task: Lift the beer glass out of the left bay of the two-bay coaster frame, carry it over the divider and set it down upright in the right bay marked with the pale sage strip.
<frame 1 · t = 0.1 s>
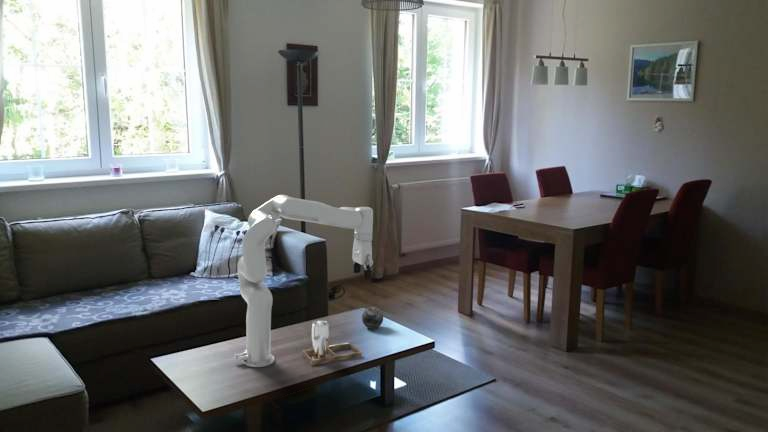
hand: (362, 275, 264), 31 cm above the table, fingers open, 9 cm apart
decorative stone: (372, 328, 290), on the table
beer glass: (319, 358, 254), resting in coaster frame
coaster frame: (331, 356, 257), on the table
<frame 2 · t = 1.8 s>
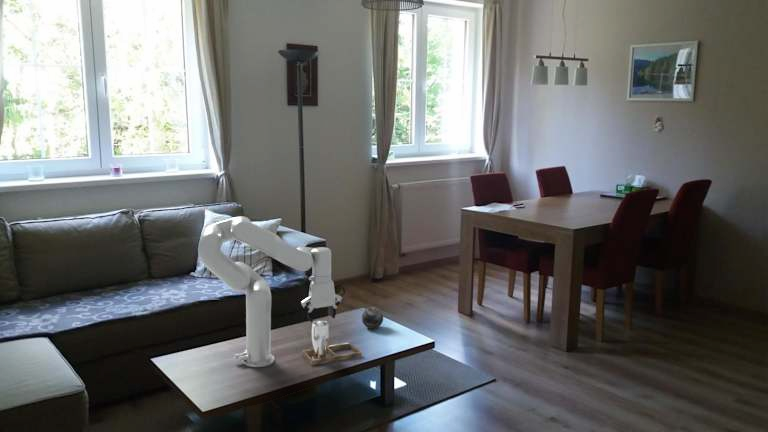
hand: (321, 319, 251), 17 cm above the table, fingers open, 9 cm apart
nothing on the table moved.
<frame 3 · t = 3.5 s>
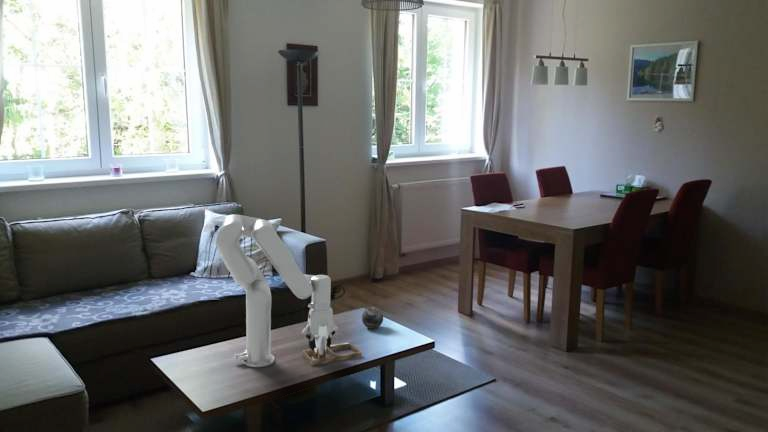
hand: (319, 347, 254), 5 cm above the table, fingers closed on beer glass, 6 cm apart
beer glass: (319, 358, 254), resting in coaster frame, touching gripper
everything else where it was.
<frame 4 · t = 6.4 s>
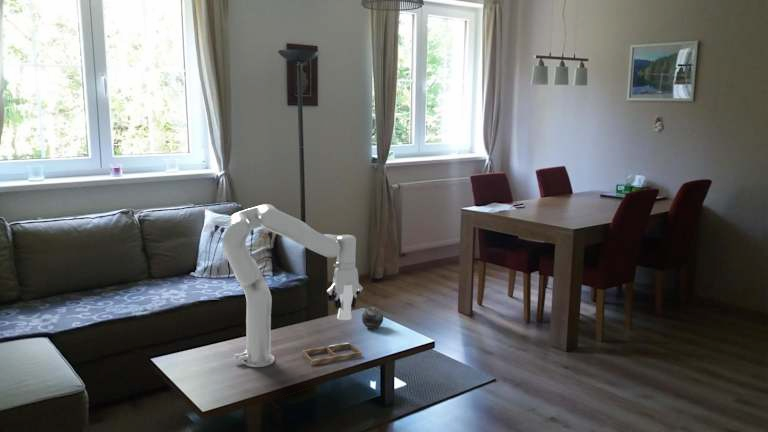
hand: (344, 307, 256), 21 cm above the table, fingers closed on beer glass, 6 cm apart
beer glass: (344, 318, 256), point 16 cm above the table, touching gripper
everything else where it was.
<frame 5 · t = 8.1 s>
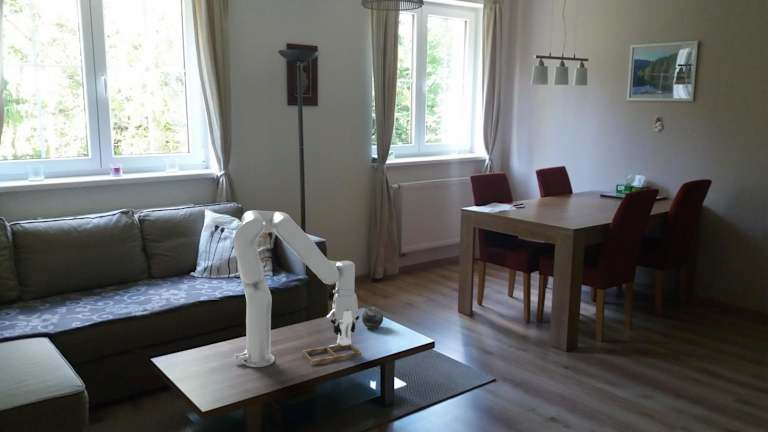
hand: (344, 332, 258), 10 cm above the table, fingers closed on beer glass, 6 cm apart
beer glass: (344, 343, 259), point 5 cm above the table, touching gripper
everything else where it was.
when the fingers open (6 cm above the table, at t = 9.5 s): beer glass drops 1 cm, resting in coaster frame.
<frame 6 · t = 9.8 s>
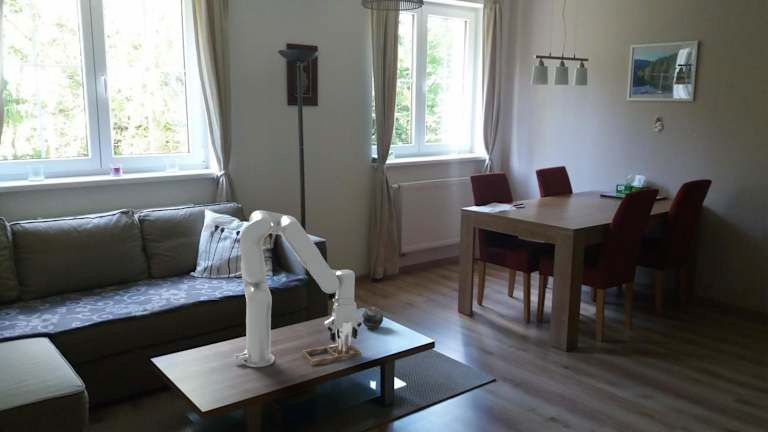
hand: (343, 339, 258), 6 cm above the table, fingers open, 9 cm apart
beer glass: (343, 354, 259), resting in coaster frame
everything else where it was.
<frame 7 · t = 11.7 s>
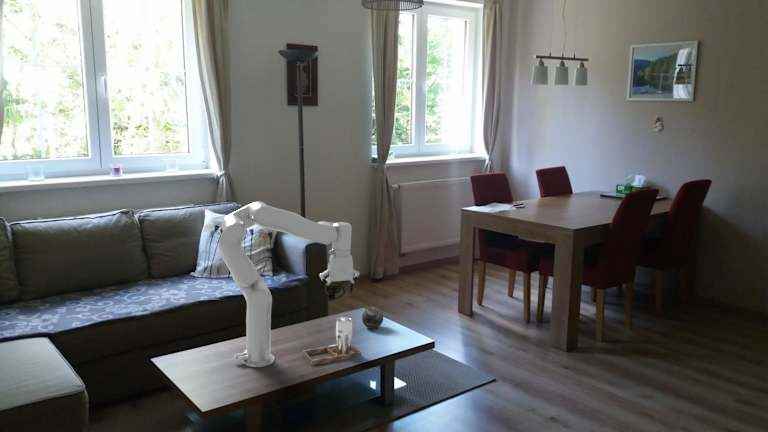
hand: (338, 293, 256), 26 cm above the table, fingers open, 9 cm apart
nothing on the table moved.
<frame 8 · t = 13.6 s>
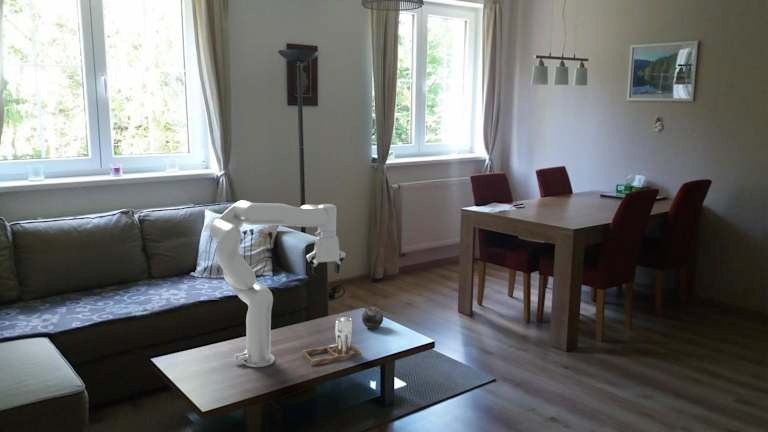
hand: (325, 273, 261), 32 cm above the table, fingers open, 9 cm apart
nothing on the table moved.
at the end: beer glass 0.0 cm from the target spot on the coaster frame, point 0.0 cm above the coaster frame's base; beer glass tilted 1°; the gripper is holding nothing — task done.
